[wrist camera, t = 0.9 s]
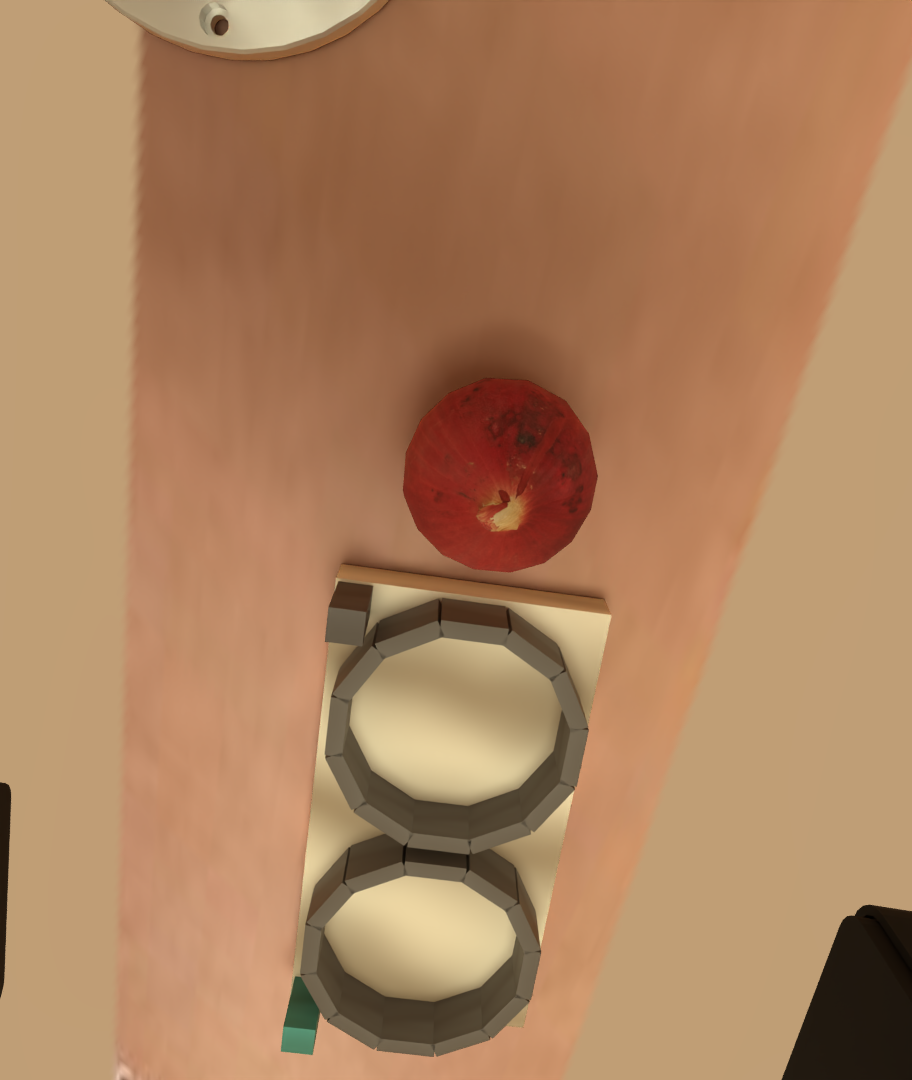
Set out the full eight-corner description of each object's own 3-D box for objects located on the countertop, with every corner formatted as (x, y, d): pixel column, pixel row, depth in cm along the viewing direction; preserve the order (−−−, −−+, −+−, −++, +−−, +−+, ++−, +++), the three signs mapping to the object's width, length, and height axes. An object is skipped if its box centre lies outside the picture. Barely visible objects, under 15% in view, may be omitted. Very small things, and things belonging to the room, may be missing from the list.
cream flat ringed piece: (341, 563, 31) (325, 603, 27) (604, 599, 31) (624, 643, 27) (296, 972, 36) (278, 1053, 32) (520, 998, 36) (528, 1080, 33)
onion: (458, 336, 28) (459, 357, 21) (609, 414, 29) (664, 463, 21) (382, 488, 30) (357, 561, 22) (527, 559, 30) (552, 653, 23)
